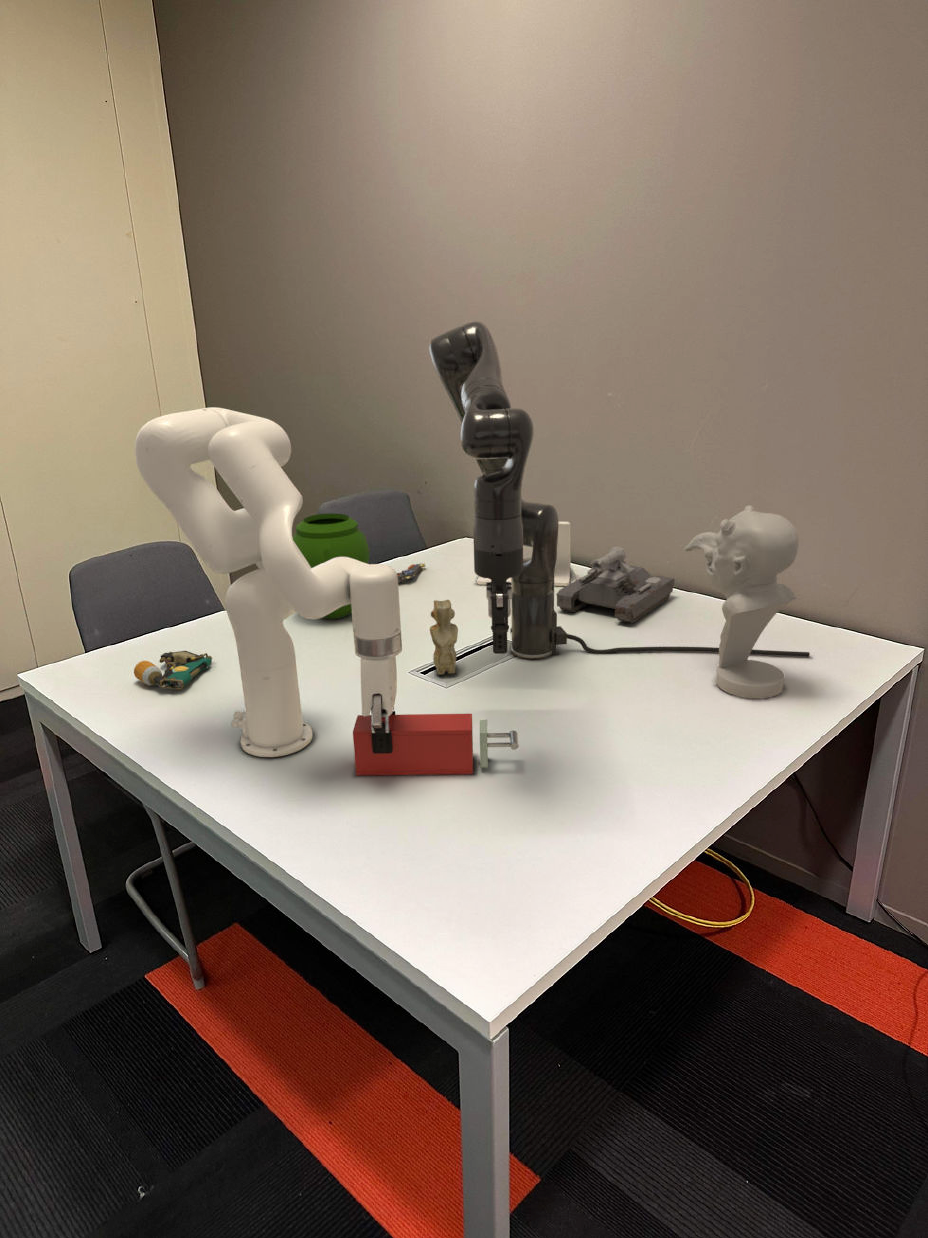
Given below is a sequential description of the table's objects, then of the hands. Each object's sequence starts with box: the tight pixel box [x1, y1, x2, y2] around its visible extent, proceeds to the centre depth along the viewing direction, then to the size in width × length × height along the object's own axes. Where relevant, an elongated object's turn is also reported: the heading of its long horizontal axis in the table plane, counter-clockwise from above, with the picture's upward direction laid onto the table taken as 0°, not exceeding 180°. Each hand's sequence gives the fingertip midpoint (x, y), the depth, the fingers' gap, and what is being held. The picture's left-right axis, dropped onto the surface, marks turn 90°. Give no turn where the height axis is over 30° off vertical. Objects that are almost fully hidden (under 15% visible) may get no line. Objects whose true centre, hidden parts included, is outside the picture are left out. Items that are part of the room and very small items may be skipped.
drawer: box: [472, 719, 519, 768], centre depth 142 cm, size 23×5×6 cm, turn 89°
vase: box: [292, 512, 370, 620], centre depth 209 cm, size 20×20×24 cm
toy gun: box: [396, 562, 426, 583], centre depth 240 cm, size 3×19×10 cm
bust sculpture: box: [684, 505, 799, 699], centre depth 167 cm, size 16×24×35 cm
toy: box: [556, 546, 676, 624], centre depth 212 cm, size 25×20×15 cm
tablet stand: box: [476, 521, 572, 587], centre depth 236 cm, size 18×25×17 cm
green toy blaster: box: [133, 650, 213, 690], centre depth 180 cm, size 4×17×15 cm
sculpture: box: [429, 599, 459, 675], centre depth 177 cm, size 6×7×15 cm
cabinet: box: [352, 713, 474, 776], centre depth 142 cm, size 19×6×8 cm, turn 89°
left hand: (384, 741), depth 142 cm, fingers closed on cabinet, 5 cm apart
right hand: (499, 642), depth 135 cm, fingers open, 8 cm apart
